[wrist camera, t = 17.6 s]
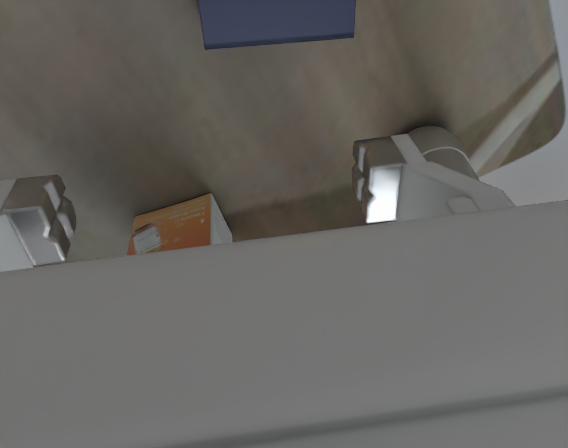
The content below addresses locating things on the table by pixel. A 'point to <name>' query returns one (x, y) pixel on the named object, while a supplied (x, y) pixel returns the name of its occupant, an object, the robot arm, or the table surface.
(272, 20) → the navy blue book
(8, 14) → the table surface
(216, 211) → the small box
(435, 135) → the plastic bottle
